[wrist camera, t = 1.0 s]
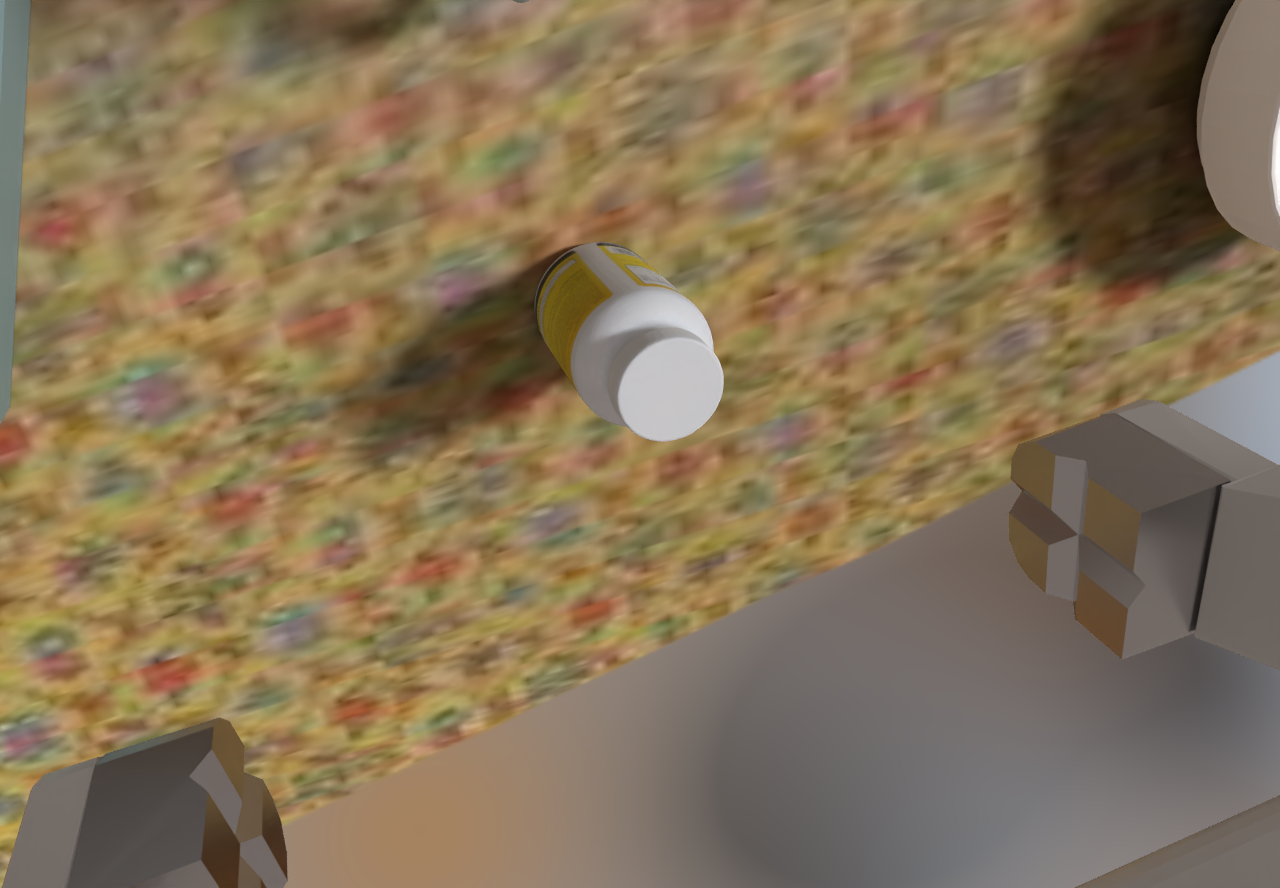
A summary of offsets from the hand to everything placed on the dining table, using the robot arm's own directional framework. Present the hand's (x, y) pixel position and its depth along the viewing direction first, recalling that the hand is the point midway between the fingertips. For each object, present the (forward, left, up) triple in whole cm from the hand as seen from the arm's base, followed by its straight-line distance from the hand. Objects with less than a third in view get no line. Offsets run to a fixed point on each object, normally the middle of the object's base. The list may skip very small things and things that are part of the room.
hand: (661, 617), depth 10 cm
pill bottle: (+7, +12, -38) cm, 41 cm away
